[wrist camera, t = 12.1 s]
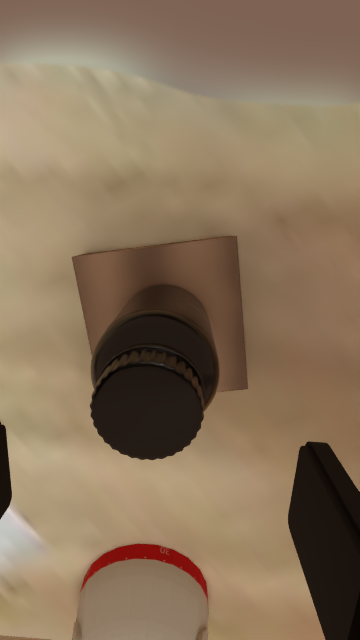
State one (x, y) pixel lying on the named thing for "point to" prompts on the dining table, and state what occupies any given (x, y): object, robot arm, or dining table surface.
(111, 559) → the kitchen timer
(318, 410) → the dining table surface
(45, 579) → the dining table surface
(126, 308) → the supplement bottle
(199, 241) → the base block
